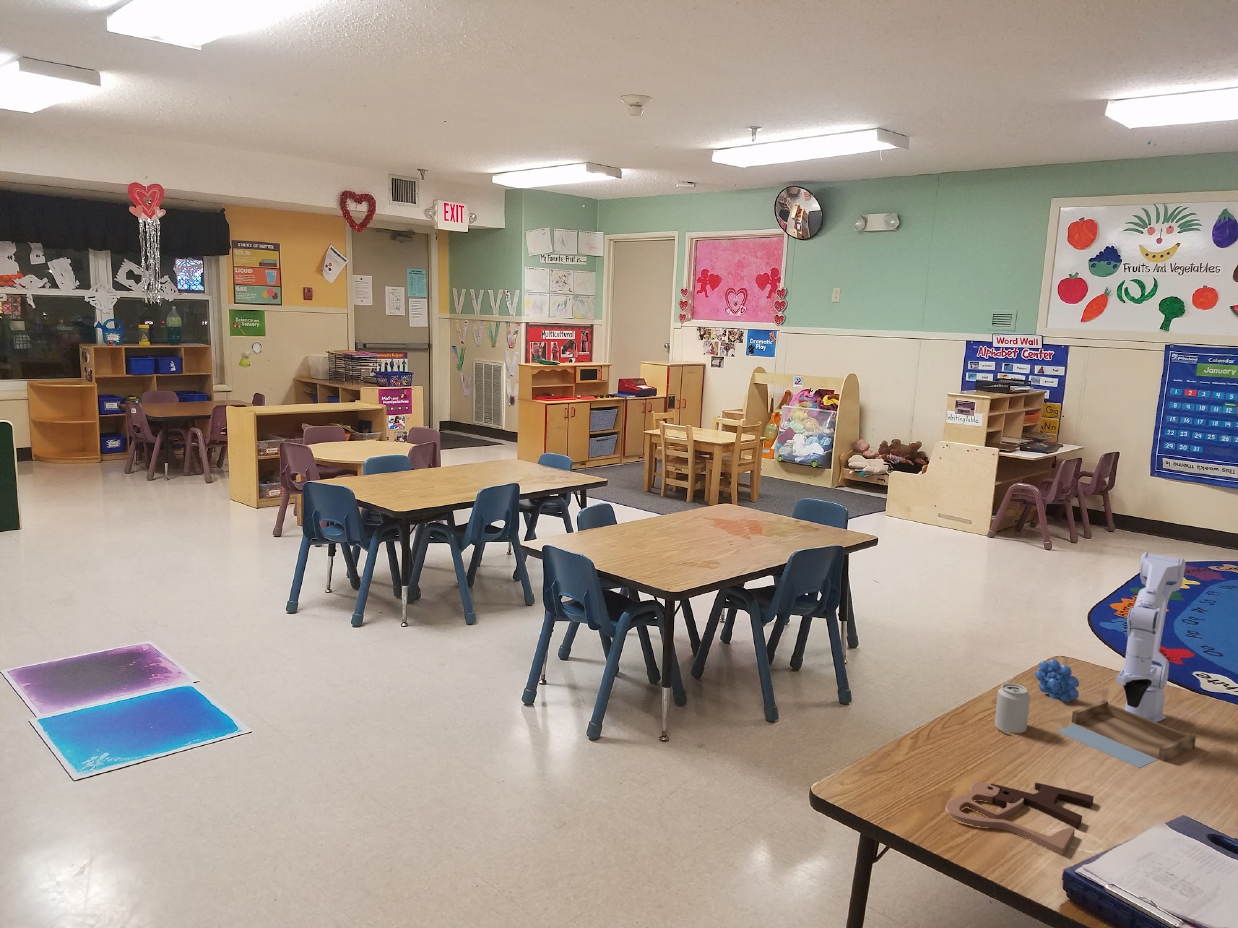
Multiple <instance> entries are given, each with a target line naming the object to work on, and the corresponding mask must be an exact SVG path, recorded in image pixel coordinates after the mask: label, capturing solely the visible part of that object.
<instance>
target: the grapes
mask: <svg viewBox="0 0 1238 928" xmlns="http://www.w3.org/2000/svg"><path fill="white" fill-rule="evenodd" d="M1038 664H1039V665H1038V668H1039V669H1037V670H1036V671H1035V673H1034V675H1035V678H1036V680H1038V681H1039V683H1038V689H1039V690H1040V692H1042V693H1043V694H1048V697H1050V699H1051V698H1052V699H1060V700H1061V702H1064V703H1065V702H1068V703H1069V702H1072V699H1075V700H1076V699H1078V698H1079V696H1080V694H1079V690H1078V689H1077V688H1078V687H1079V686H1080V681H1079V679H1078V678H1077V677H1076V676H1074V675H1072V673H1073V672H1072V669H1071V667H1070V666H1069V665H1067V664H1062V665H1061V664H1060V661H1059V660H1057V659H1055V658H1052V659H1050V660H1049V661H1045V660H1042V661H1040V662H1039V663H1038Z"/></svg>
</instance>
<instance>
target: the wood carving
mask: <svg viewBox="0 0 1238 928" xmlns="http://www.w3.org/2000/svg"><path fill="white" fill-rule="evenodd" d="M1034 790H1036V791H1037V790H1038V792H1036V793H1030V792H1027V791H1023V790H1020V789H1016V788H1013V787H1008V786H1003V785H1000V784H996V783H995V784H994V783H986V782H982V781H974V782H973V783H972V785H971V786H970V791H969V792H968V793H966V794H962V795H961V794H960V795H957V796H955V797H953V798H951V799H949V800H948V801H947V802H946V805H945V811H947V813H948V814H949V815H950V816H952V817H953V818H955V819H957V820H959V821H961V822H964V823H967V824H972V825H974V826H980V827H988V828H994V829H993V830H1000V829H1005V830H1004V831H1007V832H1009V831H1010V832H1009V833H1012V832H1014V833H1016V834H1015V835H1017V834H1019V835H1021V836H1020V837H1022V836H1024V837H1026V838H1028V839H1031V840H1033V841H1034V842H1033V841H1032V842H1033V843H1035V842H1036V843H1035V844H1037V845H1038V846H1041V845H1042V846H1041V847H1043V848H1045V847H1046V848H1045V849H1047V850H1049V851H1051V850H1052V852H1053V853H1055V854H1057V853H1058V854H1057V855H1059V854H1060V855H1059V856H1062V857H1063V856H1064V855H1065V853H1066V852H1067V850H1068V848H1069V846H1070V845H1071V844H1072V843H1071V842H1072V841H1073V839H1074V838H1075V833H1076V830H1079V829H1080V827H1081V825H1082V822H1083V815H1081V814H1079V813H1077V812H1075V811H1072V810H1070V809H1067V808H1065V807H1063V806H1060V805H1059V804H1057V803H1058V801H1061V802H1064V803H1065V802H1066V803H1068V804H1073V805H1076V806H1079V807H1082V808H1085V809H1089V810H1090V809H1091V808H1092V806H1093V804H1094V795H1090V794H1087V793H1083V792H1078V791H1076V790H1075V791H1074V790H1072V789H1071V790H1070V789H1066V788H1062V787H1057V786H1052V785H1049V784H1045V783H1040V782H1035V783H1034ZM974 800H983V801H987V802H992V803H991V804H994V803H995V804H994V805H995V806H996V805H997V807H998V806H1000V807H999V808H1002V809H1000V810H998V811H996V810H993V809H991V808H989V807H986V806H985V805H981V804H980V803H978V802H977V801H975V802H974ZM1024 805H1025V806H1027V807H1029V806H1030V808H1032V809H1034V810H1037V811H1039V812H1041V813H1044V814H1046V815H1048V816H1050V817H1052V818H1054V819H1056V820H1058V821H1060V822H1062V823H1064V824H1065V825H1069V827H1066V828H1063V829H1060V830H1058V831H1057V832H1054V833H1052V834H1051V835H1047V834H1044V833H1042V832H1039V831H1036V830H1033V829H1030V828H1027V827H1025V826H1022V825H1020V824H1017V823H1015V822H1013V821H1011V820H1006V819H1007V818H1009V817H1010V816H1013V815H1014V814H1016V813H1018V812H1019V811H1021V810H1022V809H1023V808H1024ZM966 806H967V807H969V808H971V809H973V810H975V811H978V812H979V813H982V814H984V815H985V816H987V817H989V818H987V817H985V816H983V817H981V816H976V815H972V814H970V813H965V812H963V811H960V810H961V809H962V808H964V807H966ZM1017 811H1018V812H1017ZM1008 816H1009V817H1008ZM1004 818H1005V819H1004ZM1002 819H1003V820H1002ZM995 828H997V829H995ZM1014 833H1013V834H1014ZM1019 835H1018V836H1019ZM1024 837H1023V838H1024ZM1026 838H1025V839H1026ZM1028 839H1027V840H1028ZM1031 840H1030V841H1031Z"/></svg>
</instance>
